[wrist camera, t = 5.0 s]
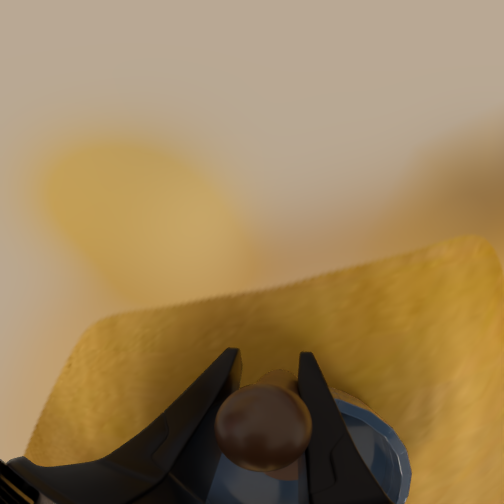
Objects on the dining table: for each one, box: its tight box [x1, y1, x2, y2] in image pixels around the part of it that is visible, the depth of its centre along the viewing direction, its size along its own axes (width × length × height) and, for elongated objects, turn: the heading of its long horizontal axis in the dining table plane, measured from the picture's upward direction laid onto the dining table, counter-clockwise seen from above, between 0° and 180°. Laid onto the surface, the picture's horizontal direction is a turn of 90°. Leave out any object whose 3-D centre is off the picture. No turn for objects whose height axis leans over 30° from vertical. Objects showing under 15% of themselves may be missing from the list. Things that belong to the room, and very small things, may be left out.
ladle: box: [214, 369, 312, 481], centre depth 9 cm, size 8×4×12 cm, turn 4°
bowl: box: [205, 387, 412, 504], centre depth 13 cm, size 13×13×4 cm
